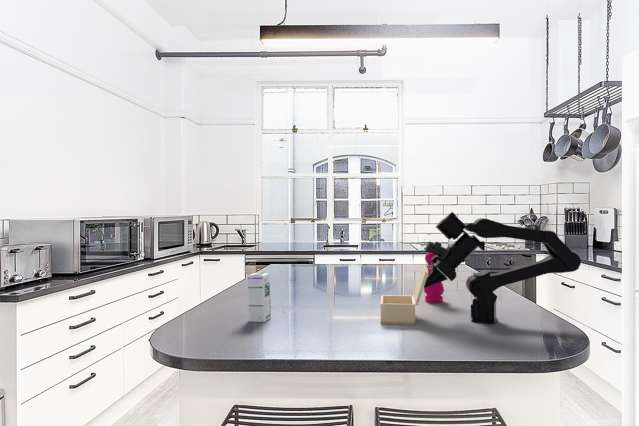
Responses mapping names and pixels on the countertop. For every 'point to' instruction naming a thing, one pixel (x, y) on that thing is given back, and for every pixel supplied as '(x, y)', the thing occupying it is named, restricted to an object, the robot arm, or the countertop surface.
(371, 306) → the countertop surface
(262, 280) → the syrup box
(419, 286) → the lid
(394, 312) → the carton
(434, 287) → the pepper mill
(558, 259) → the robot arm
